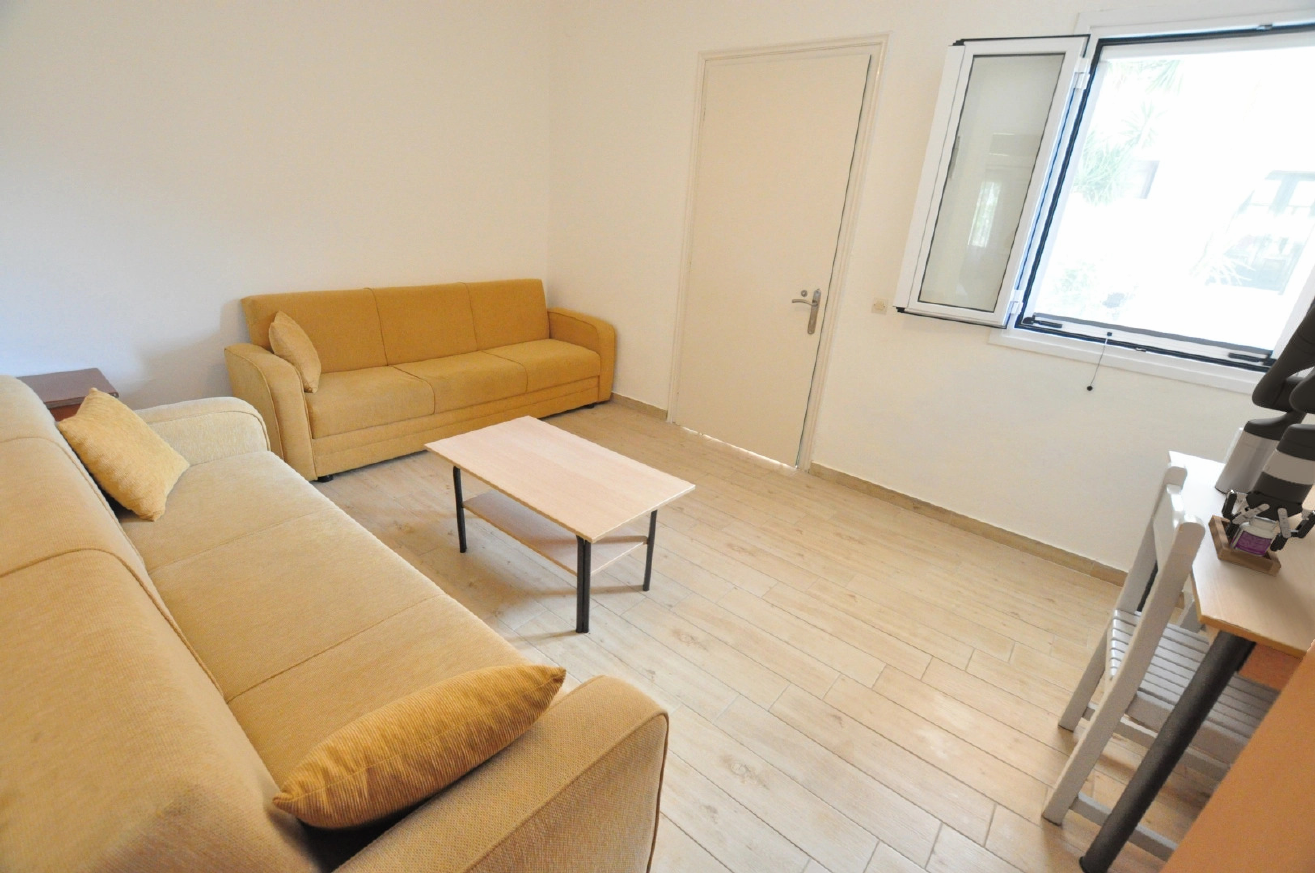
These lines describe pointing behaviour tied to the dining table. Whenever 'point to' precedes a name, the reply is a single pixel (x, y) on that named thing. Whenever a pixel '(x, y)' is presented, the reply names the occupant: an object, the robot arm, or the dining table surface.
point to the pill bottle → (1254, 536)
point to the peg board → (1224, 552)
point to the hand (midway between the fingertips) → (1250, 543)
